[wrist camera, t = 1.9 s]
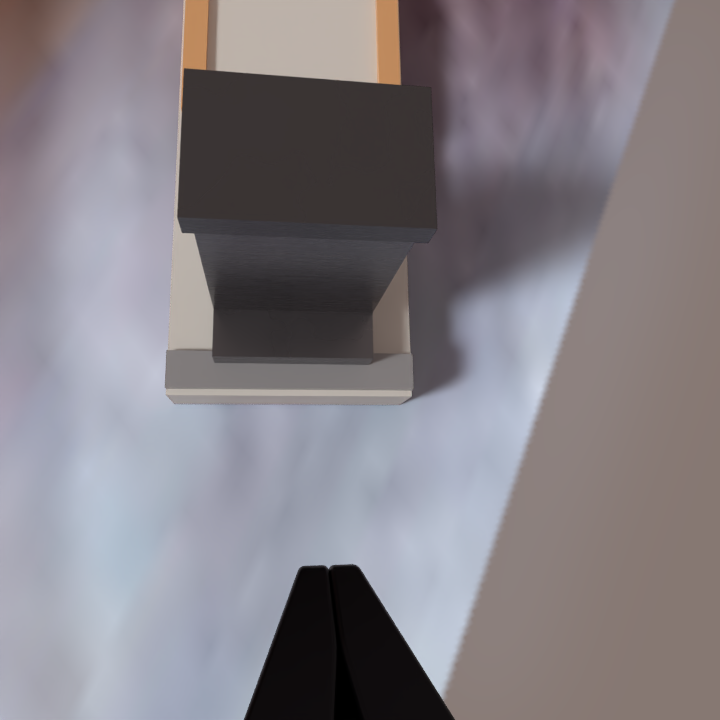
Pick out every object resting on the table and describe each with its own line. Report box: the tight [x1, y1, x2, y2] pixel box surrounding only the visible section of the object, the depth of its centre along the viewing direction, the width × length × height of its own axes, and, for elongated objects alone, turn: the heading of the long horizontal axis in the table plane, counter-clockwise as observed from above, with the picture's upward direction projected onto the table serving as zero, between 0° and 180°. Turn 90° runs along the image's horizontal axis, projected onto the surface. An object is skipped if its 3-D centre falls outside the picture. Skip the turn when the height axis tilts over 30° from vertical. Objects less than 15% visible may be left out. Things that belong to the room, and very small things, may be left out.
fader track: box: [165, 0, 414, 405], centre depth 24 cm, size 18×8×2 cm, turn 1°
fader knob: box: [177, 68, 437, 365], centre depth 18 cm, size 6×5×8 cm
